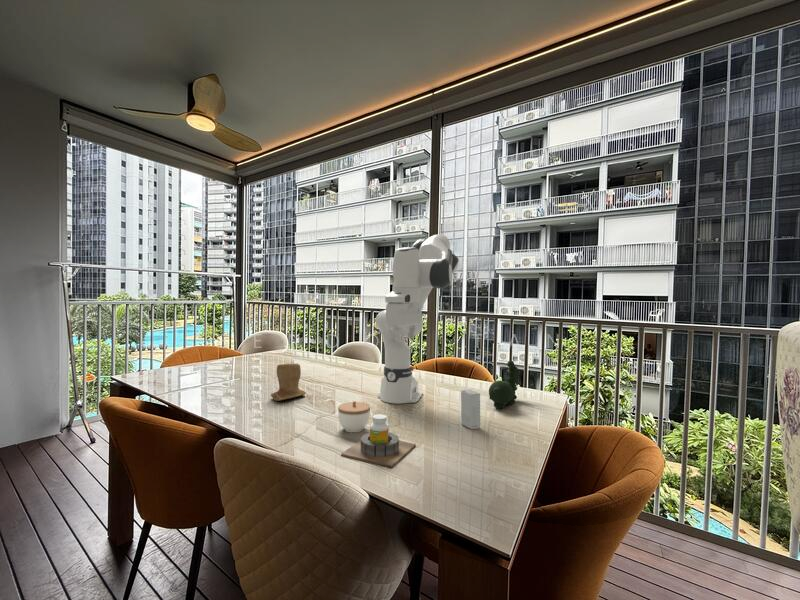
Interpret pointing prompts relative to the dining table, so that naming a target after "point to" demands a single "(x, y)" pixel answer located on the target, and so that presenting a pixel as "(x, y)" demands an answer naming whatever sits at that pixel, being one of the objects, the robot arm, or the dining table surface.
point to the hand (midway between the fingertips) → (404, 339)
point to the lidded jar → (354, 416)
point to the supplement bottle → (379, 429)
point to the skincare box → (470, 409)
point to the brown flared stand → (288, 382)
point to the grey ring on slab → (379, 450)
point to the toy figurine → (504, 388)
